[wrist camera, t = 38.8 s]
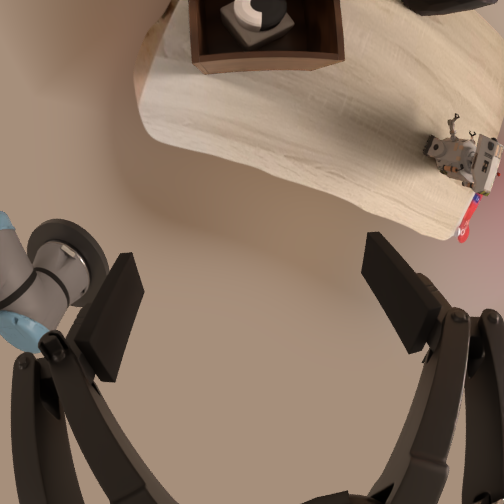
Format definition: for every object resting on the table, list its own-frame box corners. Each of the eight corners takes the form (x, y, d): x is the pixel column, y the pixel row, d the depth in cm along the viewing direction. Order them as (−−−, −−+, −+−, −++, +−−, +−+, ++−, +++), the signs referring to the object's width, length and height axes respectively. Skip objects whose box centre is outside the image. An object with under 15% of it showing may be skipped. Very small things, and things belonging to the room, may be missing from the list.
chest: (311, 70, 37) (345, 60, 25) (204, 74, 37) (192, 63, 24) (303, -20, 28) (330, -56, 16) (199, -18, 28) (187, -57, 16)
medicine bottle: (260, 1, 30) (270, -28, 20) (286, 34, 33) (305, 14, 23) (220, 21, 32) (216, -4, 21) (246, 55, 35) (251, 39, 25)
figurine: (465, 133, 42) (516, 152, 29) (445, 179, 47) (493, 207, 34) (439, 109, 40) (493, 122, 27) (417, 158, 45) (469, 184, 32)
